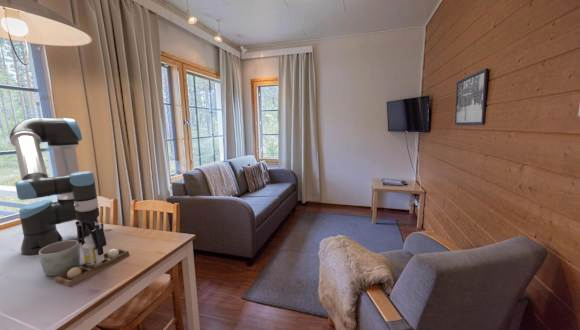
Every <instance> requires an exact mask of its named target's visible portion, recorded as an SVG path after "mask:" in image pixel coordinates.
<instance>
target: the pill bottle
mask: <svg viewBox="0 0 580 330" xmlns="http://www.w3.org/2000/svg"><path fill="white" fill-rule="evenodd" d="M84 242H85V243H84V244H83V245H82V252H83V258H84V263H85V264H86V265H95V264H98V263H96V256H95V249H94V248H96V247H95V244H94V241H93V239H92V236H91V234H90V235H89V236H86V237H85V238H84ZM101 262H102V261H101ZM99 263H100V262H99Z"/></svg>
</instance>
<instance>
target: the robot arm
mask: <svg viewBox="0 0 580 330" xmlns="http://www.w3.org/2000/svg"><path fill="white" fill-rule="evenodd" d="M81 131H82V130H81V128H80V126H79V124H78V122H77V121H76V119H73V118H67V117H66V118H65V117H62V118H61V117H58V118H57V117H53V118H51V117H49V118H48V117H31V118H27V119H24V120H22V121H20V122H18V123H17V124H16V125H15V126H14V127H13V128H12V129H11V131H10V133H9V140H10V143H11V145H12V146H14V148H15V152H16V157H17V162H18V164H17V165H18V168H19V173H20V177H21V179H20V180H19V181H18V180H17V181H16V182H15V188H16V194H17V198H18V199H19V200H22V201H25V200H34V199H35V200H36V199H39V198H40V199H41V198H46V197H52V196H57V195H58V196H57V199H56V200H57V201H53V200H51V199H45V200H43V199H42V200H39V201H35V202H31V203H28V204H26V205H23V206H22V207H21V208H19V211H18V212H19V213H18V214H19V218H18V219H19V220H20V222H21V228H22V229H21V230H22V233H23V239H22V243H21V246H20V251H21V255H28V256H29V255H30V256H32V255H39V251H40V250H41V249H42V248H44V247H46V246H48V245H50V244H53V243H57V242H61V241H64V239H63V236H62V235H61V234H60V232H59V231H58V229H57V225H60V224H64V223H69V222H73V221H75V226H76V233H77V234H76V235H77V241H78V243H79V244H81V246H83V244H84V243H85V242H84V238H85V237H86V236H89V235H91V236H92V239H93V241H94V244H95V247H96V248H94V249H95V256H96V263H99V262H101V261H103V260H104V254H105V253H104V247H105V246H107V244H108V243H107V240H106V239H107V238H106V235H105V230H104V226H105V225H104V223H99V220H98V217H99V216H100V208H99V202H98V201H99V200H98V196H97V195H98V194H97V188H96V178H95V174H94V172H92V171H88V170H85V171H80V168H79V161H78V156H77V155H78V154H77V147H78V146H79V145H80V143H79V142H81V141H82V140H83V136H82V132H81ZM41 143H47V146H48V147H49V148H51V149H52V150H53V155H54V163H55V169H56V173H57V176H52V177H51V176H48V171H47V167H46V165H45V164H46V163H45V161H44V157H43V152H42V149H41Z"/></svg>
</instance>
